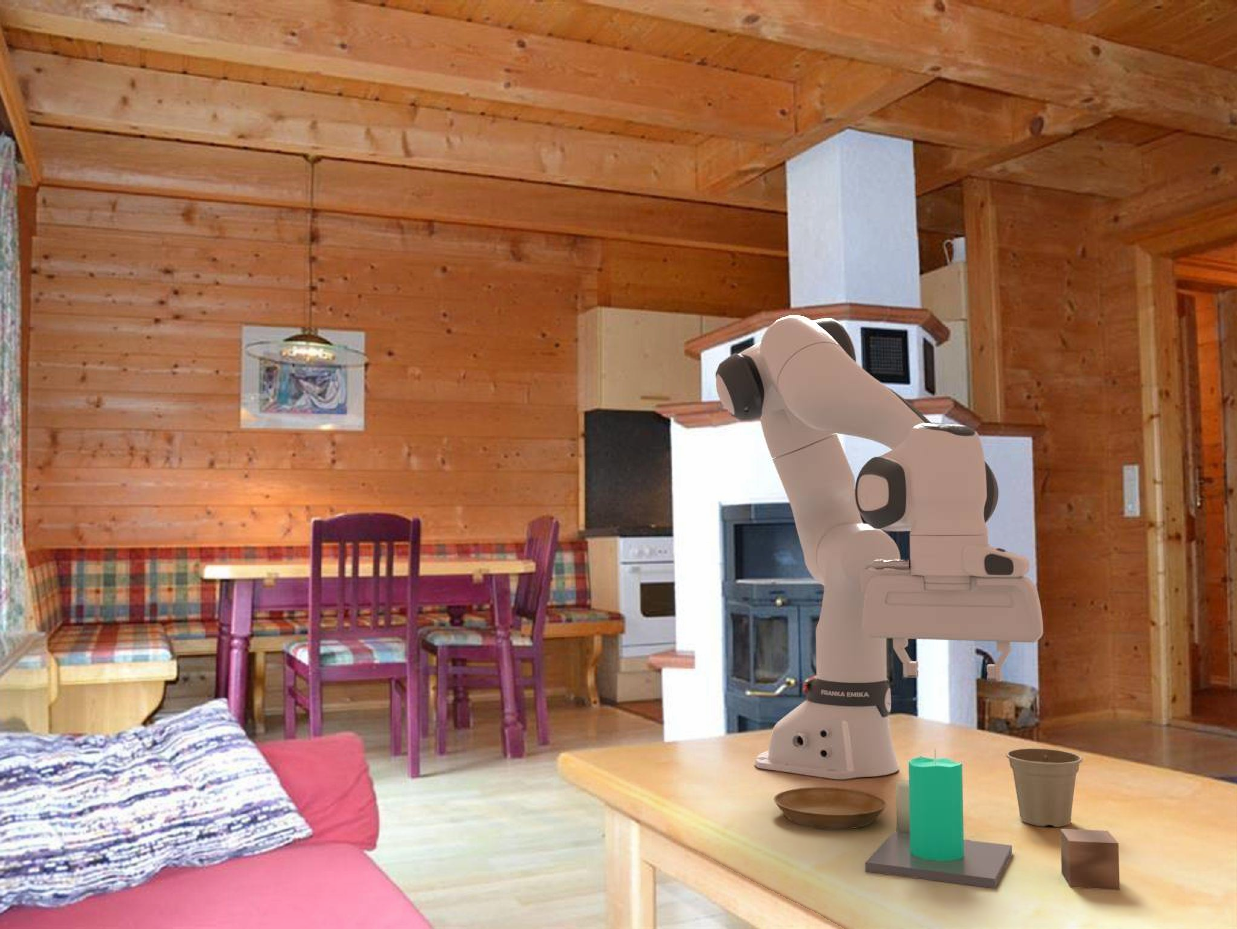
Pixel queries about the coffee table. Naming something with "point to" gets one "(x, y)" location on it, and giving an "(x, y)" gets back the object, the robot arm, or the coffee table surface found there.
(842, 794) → the plant saucer
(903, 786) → the white rounded capsule
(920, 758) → the candle
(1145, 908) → the coffee table surface
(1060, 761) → the flower pot
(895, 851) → the coaster
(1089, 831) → the walnut cube
